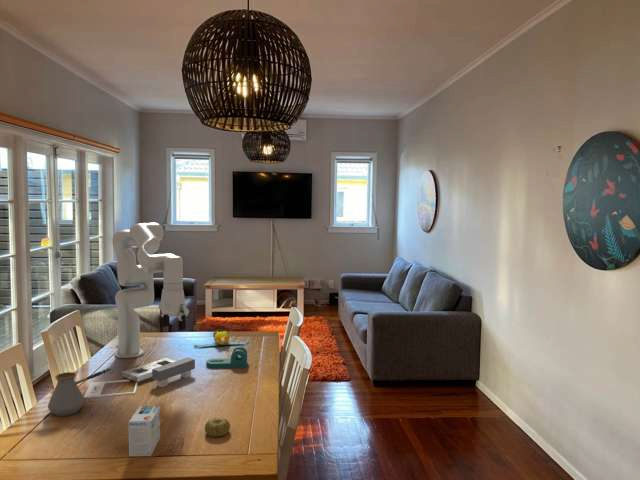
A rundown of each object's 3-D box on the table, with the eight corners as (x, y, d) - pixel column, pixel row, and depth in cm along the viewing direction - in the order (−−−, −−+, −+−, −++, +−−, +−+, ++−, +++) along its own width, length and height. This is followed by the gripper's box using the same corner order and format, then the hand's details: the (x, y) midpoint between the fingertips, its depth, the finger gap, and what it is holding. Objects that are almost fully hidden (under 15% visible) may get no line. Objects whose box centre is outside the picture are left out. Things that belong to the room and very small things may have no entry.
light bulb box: (138, 439, 152) (138, 405, 151) (160, 438, 153) (160, 405, 152) (128, 457, 142) (127, 421, 141) (152, 456, 142) (151, 420, 141)
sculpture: (215, 429, 151) (199, 421, 156) (215, 441, 151) (199, 433, 156) (235, 420, 157) (219, 413, 162) (235, 432, 157) (219, 425, 162)
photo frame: (91, 382, 196) (138, 378, 201) (91, 384, 197) (138, 380, 201) (83, 396, 182) (135, 391, 187) (83, 399, 183) (135, 394, 187)
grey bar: (152, 386, 195) (152, 369, 194) (187, 373, 210) (187, 357, 209) (159, 388, 192) (159, 371, 192) (194, 375, 207) (194, 359, 207)
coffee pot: (41, 418, 165) (40, 375, 164) (56, 404, 176) (55, 364, 175) (107, 417, 167) (106, 374, 166) (118, 403, 179) (117, 363, 177)
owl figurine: (193, 334, 240) (193, 327, 255) (194, 351, 241) (193, 343, 255) (251, 330, 248) (246, 323, 263) (251, 347, 249) (246, 339, 263)
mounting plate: (122, 378, 202) (122, 371, 202) (165, 364, 221) (165, 357, 220) (137, 384, 197) (137, 376, 197) (180, 368, 215) (180, 362, 215)
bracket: (247, 363, 224) (247, 346, 224) (246, 368, 218) (246, 350, 217) (207, 363, 223) (207, 346, 222) (205, 368, 216) (205, 351, 216)
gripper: (151, 285, 199) (152, 326, 201) (180, 290, 190) (180, 333, 191) (166, 283, 206) (167, 323, 207) (195, 287, 196) (195, 329, 197)
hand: (173, 328), depth 199 cm, fingers open, 9 cm apart
